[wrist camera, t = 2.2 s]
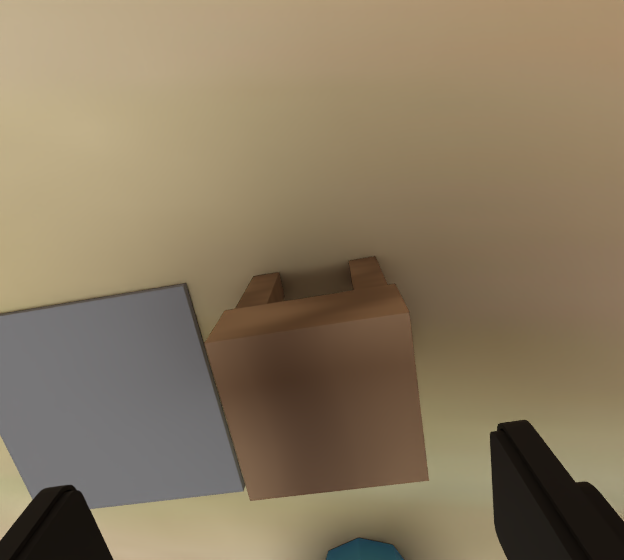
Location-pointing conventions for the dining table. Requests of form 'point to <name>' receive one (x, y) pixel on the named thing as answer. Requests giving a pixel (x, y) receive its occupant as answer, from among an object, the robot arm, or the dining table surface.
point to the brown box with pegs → (320, 387)
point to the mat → (114, 400)
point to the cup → (364, 551)
